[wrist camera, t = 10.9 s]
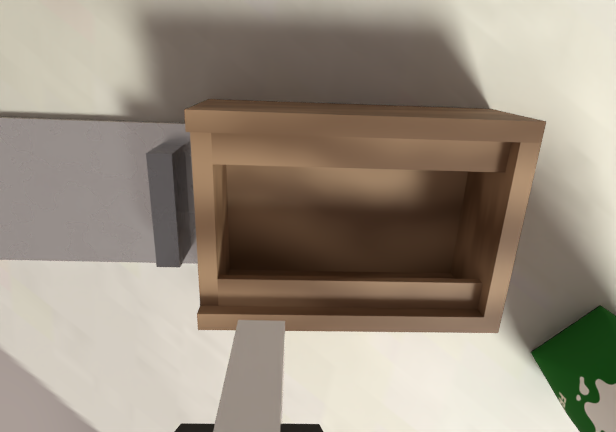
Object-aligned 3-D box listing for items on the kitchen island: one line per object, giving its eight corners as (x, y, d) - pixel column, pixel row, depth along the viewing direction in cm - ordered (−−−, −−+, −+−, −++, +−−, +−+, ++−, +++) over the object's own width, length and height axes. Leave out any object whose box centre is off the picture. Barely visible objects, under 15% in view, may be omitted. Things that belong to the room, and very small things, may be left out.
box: (208, 99, 29) (184, 109, 22) (490, 108, 30) (546, 121, 23) (216, 278, 34) (198, 329, 27) (459, 281, 35) (498, 333, 28)
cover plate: (-33, 114, 29) (-87, 122, 25) (210, 123, 30) (197, 132, 26) (0, 253, 33) (-42, 280, 29) (216, 258, 34) (205, 285, 30)
